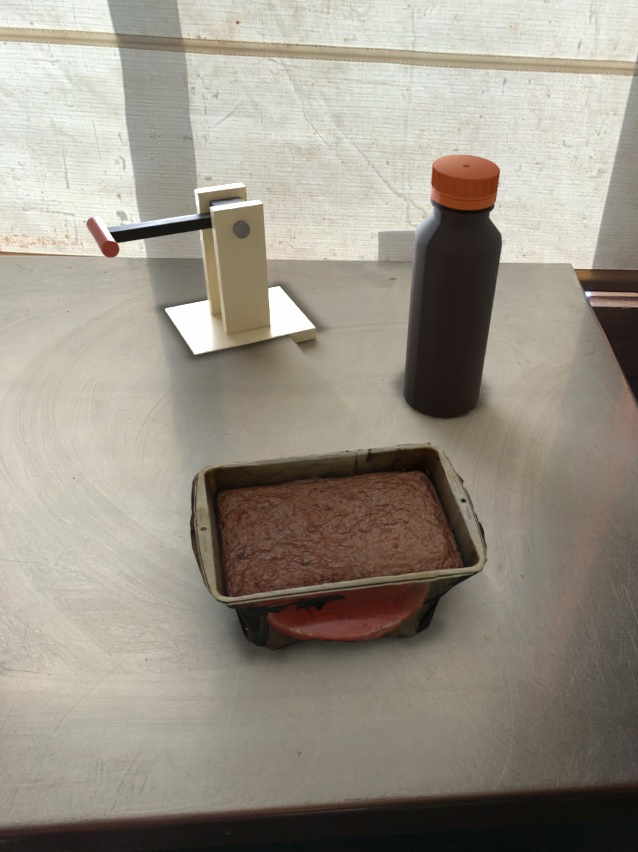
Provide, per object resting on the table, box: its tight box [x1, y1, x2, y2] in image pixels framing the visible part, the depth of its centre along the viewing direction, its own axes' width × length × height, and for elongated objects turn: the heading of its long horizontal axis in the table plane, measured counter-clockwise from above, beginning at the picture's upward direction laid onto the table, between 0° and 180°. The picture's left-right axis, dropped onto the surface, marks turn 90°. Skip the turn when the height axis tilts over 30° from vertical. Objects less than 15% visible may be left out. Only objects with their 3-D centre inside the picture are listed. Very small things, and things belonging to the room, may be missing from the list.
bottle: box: [402, 154, 503, 419], centre depth 64 cm, size 7×7×20 cm
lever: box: [86, 197, 244, 259], centre depth 67 cm, size 13×5×2 cm, turn 119°
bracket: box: [164, 182, 317, 356], centre depth 72 cm, size 12×9×13 cm
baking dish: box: [189, 442, 488, 651], centre depth 52 cm, size 14×18×10 cm
